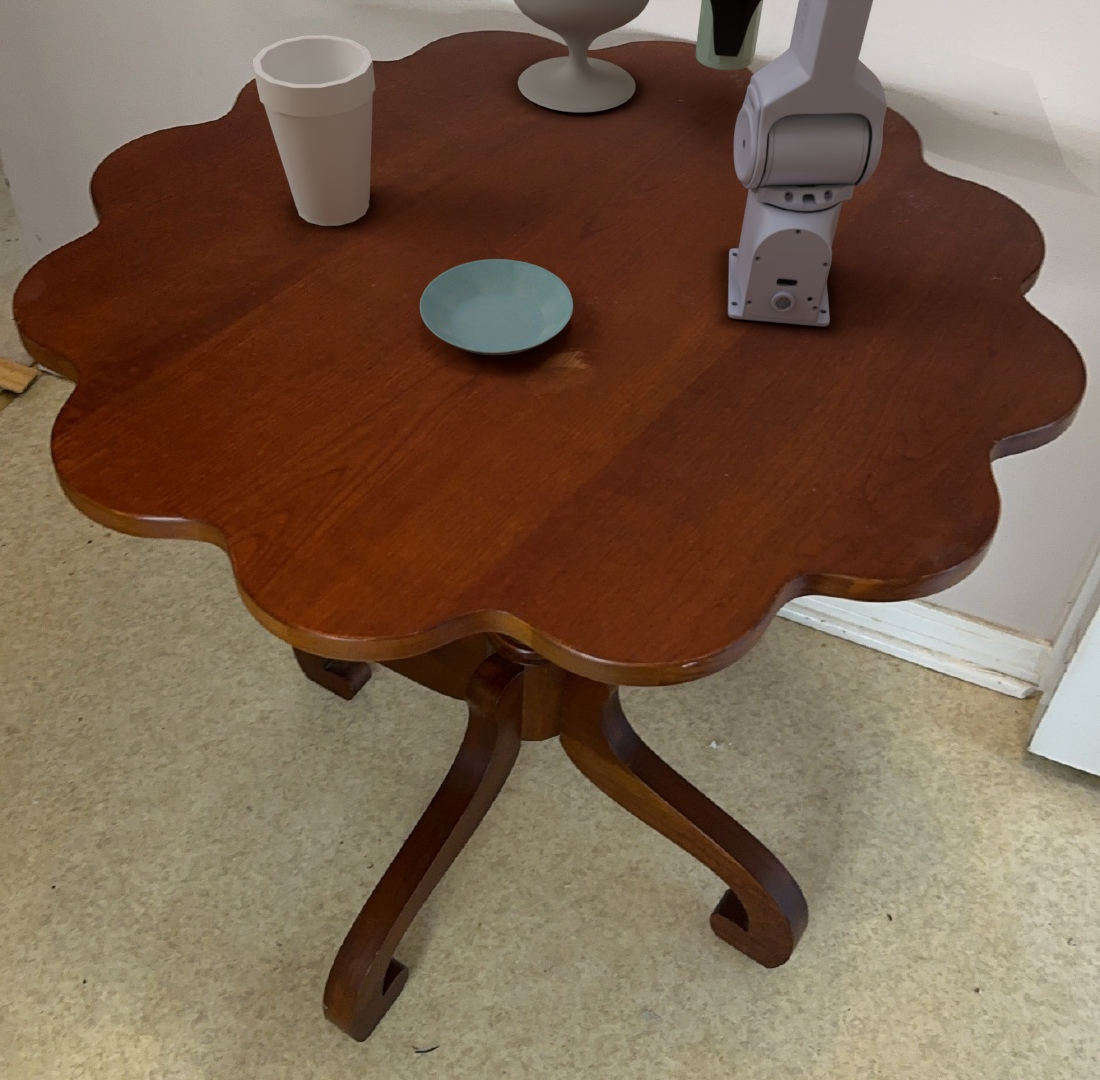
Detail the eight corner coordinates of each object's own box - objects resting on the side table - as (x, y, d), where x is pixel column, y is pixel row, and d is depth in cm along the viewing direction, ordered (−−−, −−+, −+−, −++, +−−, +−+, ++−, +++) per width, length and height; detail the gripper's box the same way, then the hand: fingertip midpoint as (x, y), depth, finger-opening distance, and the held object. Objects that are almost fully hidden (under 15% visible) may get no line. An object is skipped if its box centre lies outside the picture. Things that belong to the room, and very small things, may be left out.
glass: (753, 72, 101) (766, -6, 96) (694, 68, 102) (703, -11, 97) (753, 47, 105) (765, -30, 100) (696, 43, 105) (705, -34, 100)
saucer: (519, 394, 80) (519, 370, 79) (390, 339, 84) (388, 315, 83) (599, 313, 87) (601, 289, 85) (477, 266, 91) (476, 242, 89)
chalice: (496, 63, 116) (494, -92, 105) (622, 52, 119) (633, -100, 108) (525, 127, 107) (526, -35, 96) (661, 113, 110) (677, -46, 98)
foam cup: (331, 168, 101) (311, 25, 92) (408, 200, 98) (395, 55, 88) (256, 212, 96) (227, 65, 86) (335, 248, 92) (313, 99, 83)
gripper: (799, -89, 87) (770, 78, 97) (794, -147, 97) (768, 11, 107) (711, -95, 88) (691, 72, 98) (714, -152, 97) (696, 6, 107)
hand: (726, 40), depth 102 cm, fingers closed on glass, 5 cm apart
